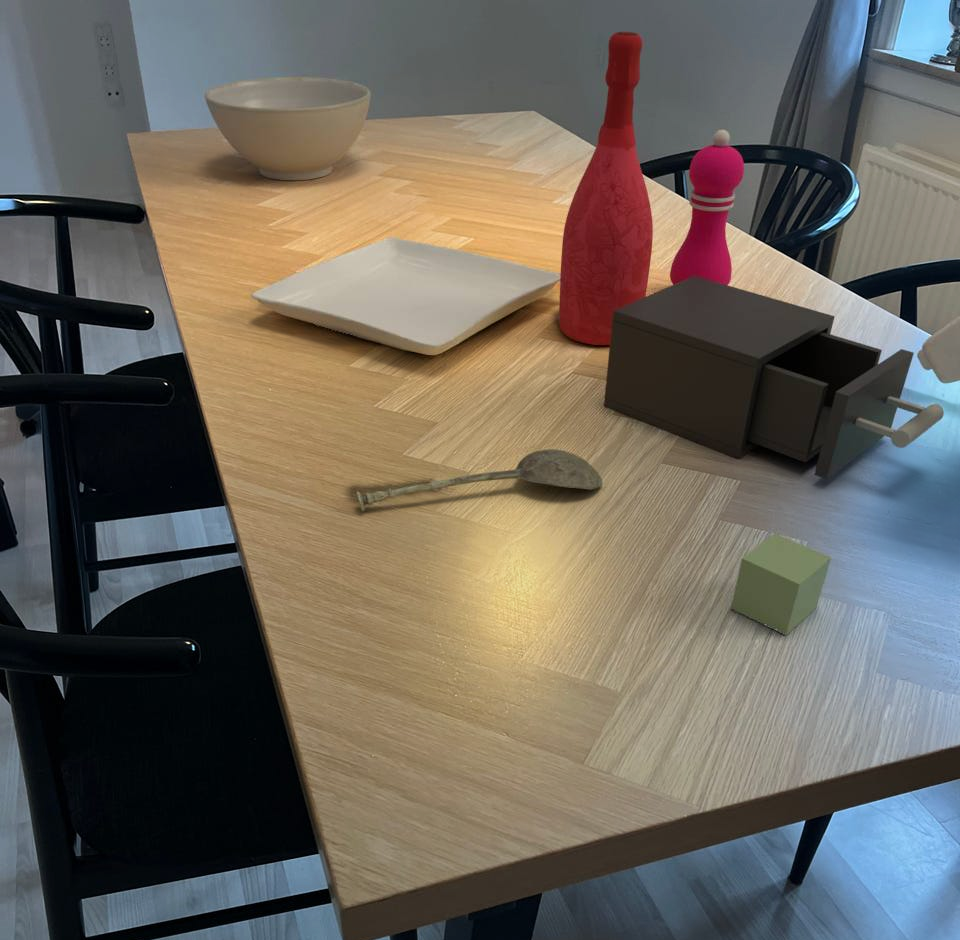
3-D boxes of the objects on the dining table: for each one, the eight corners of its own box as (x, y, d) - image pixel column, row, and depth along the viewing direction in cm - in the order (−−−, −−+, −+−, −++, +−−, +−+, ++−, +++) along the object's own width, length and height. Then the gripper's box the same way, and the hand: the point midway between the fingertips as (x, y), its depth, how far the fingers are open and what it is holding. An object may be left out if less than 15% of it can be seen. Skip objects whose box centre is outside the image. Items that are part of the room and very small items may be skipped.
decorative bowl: (376, 152, 179) (372, 76, 171) (373, 192, 158) (368, 108, 150) (228, 152, 177) (217, 76, 170) (205, 193, 157) (192, 109, 149)
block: (816, 608, 73) (831, 557, 70) (785, 635, 70) (799, 584, 68) (762, 583, 75) (774, 532, 73) (730, 609, 73) (741, 558, 70)
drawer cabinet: (811, 411, 99) (835, 316, 92) (738, 459, 91) (759, 358, 84) (680, 365, 107) (694, 275, 101) (603, 406, 99) (612, 310, 93)
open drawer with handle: (941, 449, 91) (969, 368, 86) (880, 500, 83) (906, 415, 78) (755, 385, 101) (771, 310, 96) (687, 426, 94) (699, 346, 89)
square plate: (565, 302, 121) (567, 270, 119) (437, 379, 103) (437, 343, 101) (391, 260, 133) (390, 230, 130) (249, 322, 115) (245, 289, 112)
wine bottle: (619, 356, 109) (652, 43, 90) (541, 337, 112) (557, 33, 93) (655, 328, 115) (693, 30, 96) (580, 310, 119) (603, 21, 100)
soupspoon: (612, 503, 86) (586, 470, 91) (617, 468, 84) (590, 436, 89) (364, 528, 80) (351, 492, 86) (362, 491, 78) (349, 456, 84)
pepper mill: (731, 305, 121) (762, 126, 108) (716, 325, 116) (748, 140, 103) (674, 296, 123) (699, 120, 111) (658, 315, 118) (681, 132, 106)
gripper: (1122, 195, 76) (959, 290, 87) (1026, 262, 64) (853, 362, 76) (1160, 266, 76) (993, 352, 88) (1072, 345, 65) (893, 432, 76)
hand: (927, 357), depth 82 cm, fingers closed
